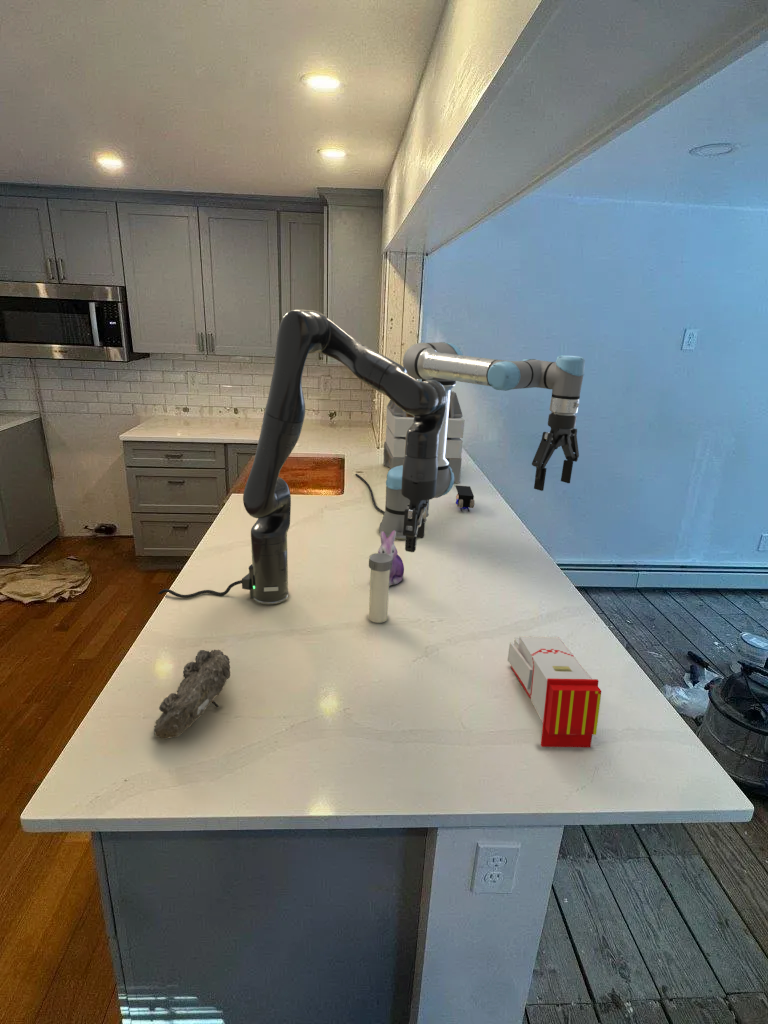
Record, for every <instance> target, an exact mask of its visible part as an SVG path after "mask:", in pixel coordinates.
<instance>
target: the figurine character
mask: <svg viewBox="0 0 768 1024" xmlns="http://www.w3.org/2000/svg"><path fill="white" fill-rule="evenodd" d="M455 488H456V492H457V494H456V496H455V500H456V501H455V504H456V505H457V507H458V508H459V509H460V512H461V513H462V512H464V511H463V510H467V512H468V513H470V511H471V510H470V509H474V508H475V499H474V498H475V496H474V492H473V489H472V488H471V486H469V485H455Z"/></svg>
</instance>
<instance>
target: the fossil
mask: <svg viewBox="0 0 768 1024" xmlns="http://www.w3.org/2000/svg"><path fill="white" fill-rule="evenodd" d="M194 659H195V661H190V662H189V661H188V662H187V663H186V664H185V665H184V667H183V672H182V676H183V679H182V680H181V682H180V683H179V686H178V687H177V690H176V692H171V693H170V694H168V696H167V697H165V698H163V700H162V701H161V703H160V704H159V706H158V710H159V711H160V712H161V714H160V716H159V718H158V719H156V721H154V722H155V723H154V724H155V725H154V726H153V727H154V729H153V730H154V731H153V732H154V733H155V734H154V735H155V736H156V737H159V738H161V740H166V739H170V738H174V737H175V738H178V737H180V736H181V735H182V734H183V733H184V732H185V731H186V730H187V729H189V727H191V726H192V724H193V723H195V721H197V720H198V719H199V718H200V717H201V716H202V715H203V714H204V713H205V711H206V708H208V707H209V706H210V705H211V704H212V705H213V706H215V708H219V707H220V705H219V704H218V703H217V702H216V701H215V700H214V699H215V697H217V696H220V694H221V692H222V691H223V690H224V687H225V685H226V683H227V681H228V680H229V679H230V678H231V664H230V663H231V659H230V657H229V656H228V655H227V654H225V653H224V652H223V651H222V650H221V649H212V650H211V651H209V650H204V649H200V650H198V652H197V654H196V656H195V658H194Z"/></svg>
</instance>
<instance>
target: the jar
mask: <svg viewBox="0 0 768 1024" xmlns="http://www.w3.org/2000/svg"><path fill="white" fill-rule="evenodd" d="M389 575H390V570H388V571H383V572H380V571H374V570H372V569H370V577H369V599H368V600H369V602H368V619H369V621H370V622H372V623H377V624H381V623H384V622H386V621H388V615H389V614H388V613H389V612H388V611H389V595H390V594H389V593H390V586H389Z"/></svg>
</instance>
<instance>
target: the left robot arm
mask: <svg viewBox="0 0 768 1024" xmlns="http://www.w3.org/2000/svg"><path fill="white" fill-rule="evenodd" d="M317 353H318V354H320V355H324V356H327V357H330V358H332V359H334V360H336V361H337V362H339V363H340V364H342V365H343V366H345V367H346V368H347V369H348V370H349V371H350V372H351V373H352V374H353V376H355V377H356V378H357V380H359V381H360V382H362V383H363V384H365V385H366V386H369V387H370V388H372V389H374V390H375V391H376V392H379V393H380V394H382V395H384V396H386V397H387V398H388V399H389V401H390V400H391V401H393V402H394V403H395V404H396V405H397V406H398V407H399V408H401V409H402V410H403V411H405V412H406V413H408V414H410V415H412V416H414V421H413V424H412V426H411V427H410V428H409V429H408V431H407V434H406V443H405V457H404V462H403V473H402V489H401V494H402V495H403V496H404V497H405V498H408V499H409V500H410V504H409V505H407V509H405V511H404V512H405V515H404V528H403V536H406V540H405V545H404V550H405V552H409V553H415V552H416V550H417V539H424V537H425V531H426V522H427V520H428V517H429V510H430V509H429V507H430V500H433V499H435V498H434V497H435V495H436V483H437V472H438V445H439V433H440V430H441V427H442V423H443V419H444V415H445V411H446V405H447V396H446V391H445V389H444V387H443V385H442V384H441V383H439V382H438V381H435V380H426V381H422V380H421V381H420V380H419V379H415V378H412V377H411V376H409V375H408V374H407V371H406V369H405V368H404V366H403V365H401V364H400V363H398V362H396V361H394V360H393V359H391V358H389V357H387V356H385V355H383V354H381V353H379V352H378V351H376V350H374V349H372V348H370V347H369V346H367V345H365V344H364V343H362V342H360V341H359V340H357V339H356V338H355V337H353V336H352V335H350V334H349V333H347V332H346V331H345V330H344V329H342V328H341V327H340V326H339V325H337V324H336V323H335V322H334V321H333V320H331V319H330V318H328V316H326V315H325V314H324V313H323V312H320V311H318V310H314V309H292V310H289V311H287V312H286V313H285V315H283V316H282V318H281V321H280V323H279V327H278V331H277V338H276V345H275V355H274V357H275V358H274V366H273V371H272V377H271V380H270V381H271V382H270V387H269V391H268V397H267V401H266V405H265V408H264V413H263V418H262V421H261V422H262V423H261V428H260V434H259V437H258V442H257V446H256V450H255V455H254V458H253V463H252V466H251V469H250V471H249V475H248V478H247V480H246V483H245V486H244V489H243V494H242V502H243V503H242V504H243V506H244V508H245V509H244V510H245V511H246V513H247V514H248V515H249V516H250V517H252V518H254V519H257V520H255V521H256V522H255V523H254V524H253V526H251V529H250V547H251V549H250V550H251V564H250V565H249V566H248V573H247V574H245V575H244V576H243V577H242V578H241V579H240V580H236V581H234V582H232V583H230V584H229V585H228V586H227V588H226V589H225V590H224V591H222V592H219V591H216V590H212V589H203V590H199V591H196V592H193V593H189V594H181V593H178V592H176V591H174V590H173V589H169V588H163V589H161V590H160V591H158V592H157V594H158V595H162V594H164V593H168V592H169V593H168V594H169V595H172V596H175V597H177V598H180V599H189V598H194V597H197V596H200V595H203V594H212V595H215V596H219V597H222V596H225V595H227V594H228V593H230V590H231V589H232V588H233V587H235V586H237V585H241V589H243V590H247V591H249V598H250V599H251V600H253V601H254V602H255V603H257V604H260V605H264V606H265V605H266V606H267V605H269V606H271V605H278V604H282V603H284V602H285V601H287V600H288V599H289V571H288V569H289V567H288V563H289V562H288V561H289V560H288V531H289V529H290V527H291V526H290V525H291V508H292V501H291V500H292V497H291V491H290V490H291V489H290V487H289V485H288V483H287V482H286V481H285V479H283V478H282V477H280V473H281V470H282V468H283V466H284V464H286V461H287V460H288V458H289V456H290V455H291V453H292V452H293V450H294V449H295V447H296V445H297V443H298V441H299V439H300V436H301V433H302V429H303V425H304V421H305V417H306V402H305V396H304V392H303V386H302V381H303V373H304V368H305V365H306V361H307V358H308V357H309V356H308V355H310V354H317ZM410 526H412V527H413V529H412V531H411V530H409V527H410Z"/></svg>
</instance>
